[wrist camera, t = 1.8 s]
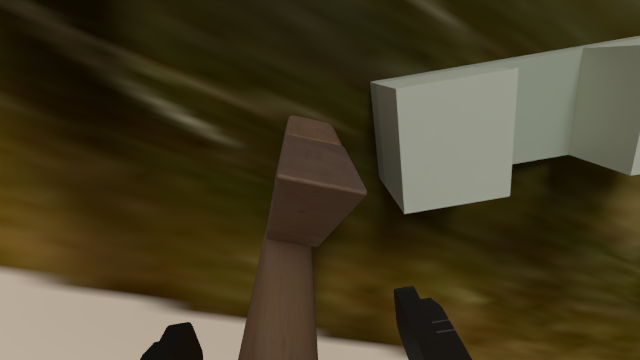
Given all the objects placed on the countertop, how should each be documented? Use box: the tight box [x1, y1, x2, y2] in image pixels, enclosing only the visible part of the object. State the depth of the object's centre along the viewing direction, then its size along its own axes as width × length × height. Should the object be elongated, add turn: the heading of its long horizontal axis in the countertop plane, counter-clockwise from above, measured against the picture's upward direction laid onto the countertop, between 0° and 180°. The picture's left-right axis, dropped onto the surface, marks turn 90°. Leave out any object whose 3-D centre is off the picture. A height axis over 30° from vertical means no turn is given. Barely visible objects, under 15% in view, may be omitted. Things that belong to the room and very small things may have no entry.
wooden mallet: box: [238, 115, 367, 360], centre depth 18 cm, size 4×11×18 cm, turn 167°
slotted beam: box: [370, 36, 640, 214], centre depth 22 cm, size 8×22×7 cm, turn 99°
